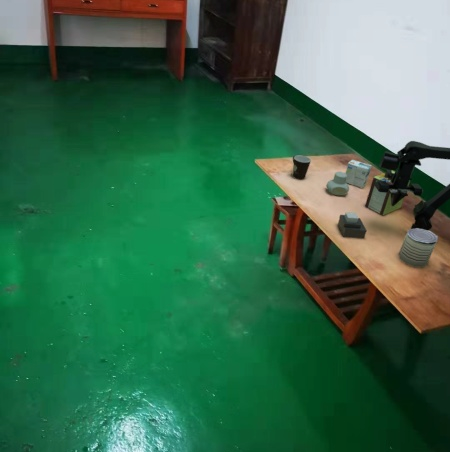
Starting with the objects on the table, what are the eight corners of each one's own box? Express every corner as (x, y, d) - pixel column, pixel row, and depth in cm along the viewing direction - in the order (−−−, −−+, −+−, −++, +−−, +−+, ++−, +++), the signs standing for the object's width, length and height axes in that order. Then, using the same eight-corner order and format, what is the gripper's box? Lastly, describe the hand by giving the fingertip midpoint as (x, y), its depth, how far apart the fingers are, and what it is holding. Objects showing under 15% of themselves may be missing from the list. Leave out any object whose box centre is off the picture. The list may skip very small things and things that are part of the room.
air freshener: (345, 189, 230) (350, 171, 224) (348, 197, 223) (354, 179, 217) (324, 187, 229) (328, 169, 224) (326, 195, 223) (331, 176, 217)
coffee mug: (308, 181, 234) (312, 163, 228) (291, 179, 233) (295, 161, 228) (305, 171, 243) (308, 153, 238) (289, 169, 243) (292, 152, 238)
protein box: (401, 207, 219) (411, 178, 211) (382, 216, 211) (392, 186, 202) (382, 198, 226) (392, 169, 217) (364, 206, 217) (373, 176, 209)
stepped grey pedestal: (357, 225, 201) (361, 214, 198) (364, 238, 193) (367, 226, 189) (336, 224, 200) (339, 212, 197) (341, 236, 192) (345, 225, 189)
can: (411, 270, 177) (422, 244, 170) (392, 253, 185) (401, 228, 179) (433, 265, 181) (444, 240, 175) (413, 249, 190) (423, 224, 183)
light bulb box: (366, 184, 238) (372, 165, 232) (362, 188, 233) (368, 169, 227) (347, 177, 242) (352, 158, 236) (342, 181, 237) (347, 162, 231)
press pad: (354, 218, 195) (355, 213, 194) (356, 223, 192) (358, 218, 190) (344, 217, 195) (345, 212, 194) (346, 222, 191) (348, 217, 190)
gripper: (418, 166, 193) (405, 198, 202) (376, 161, 191) (365, 194, 200) (429, 177, 184) (415, 211, 193) (385, 173, 182) (373, 207, 191)
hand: (392, 205), depth 194 cm, fingers closed
